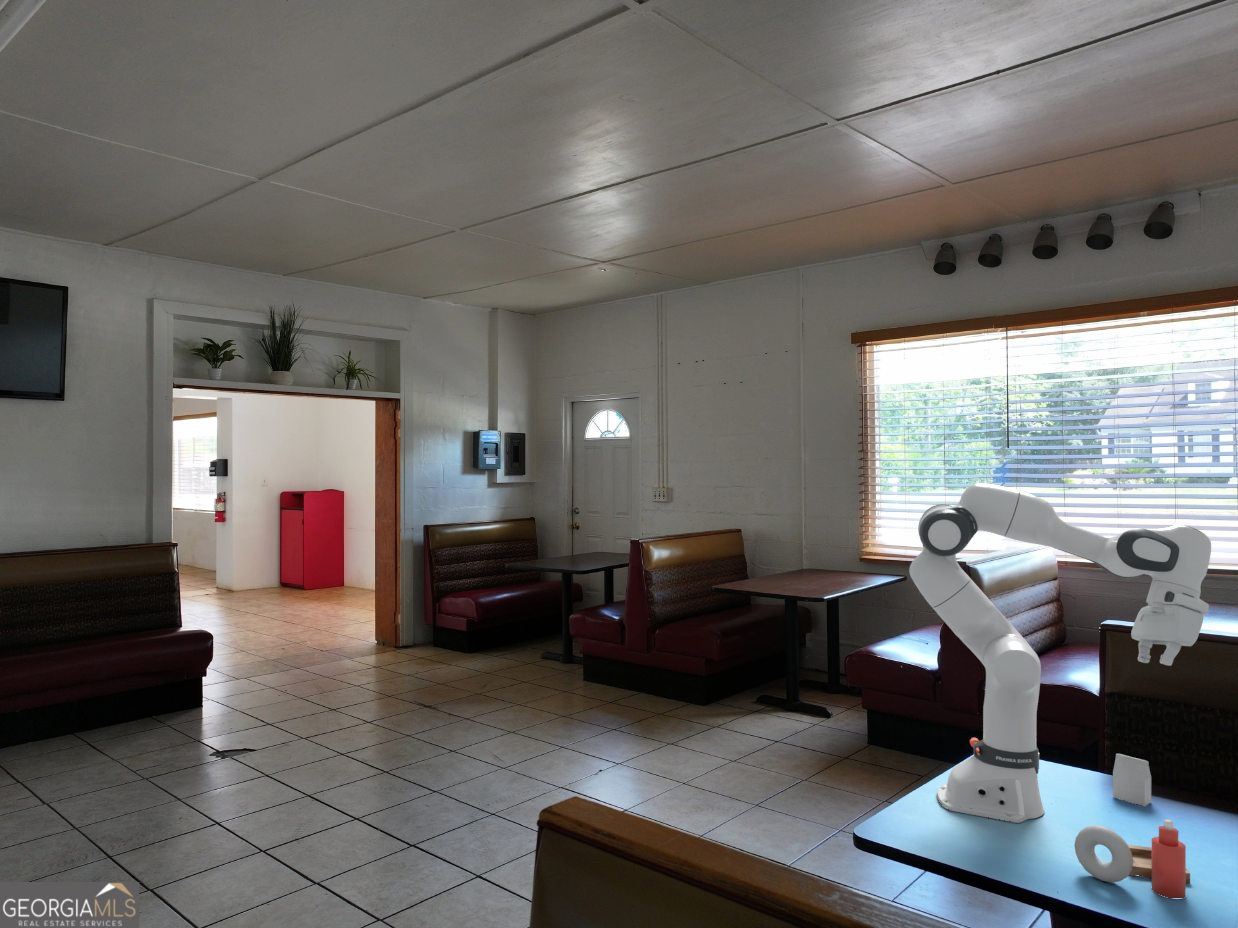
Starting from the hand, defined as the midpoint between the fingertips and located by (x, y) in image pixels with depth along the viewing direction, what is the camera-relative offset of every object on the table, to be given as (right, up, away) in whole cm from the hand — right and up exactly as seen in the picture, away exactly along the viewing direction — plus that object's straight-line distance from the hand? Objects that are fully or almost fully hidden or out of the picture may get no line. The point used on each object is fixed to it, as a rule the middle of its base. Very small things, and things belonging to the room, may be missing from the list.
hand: (1153, 663), depth 175 cm
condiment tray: (-9, -36, -13) cm, 40 cm away
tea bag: (+7, -37, +19) cm, 42 cm away
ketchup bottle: (-12, -36, -23) cm, 45 cm away
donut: (-21, -37, -18) cm, 46 cm away
